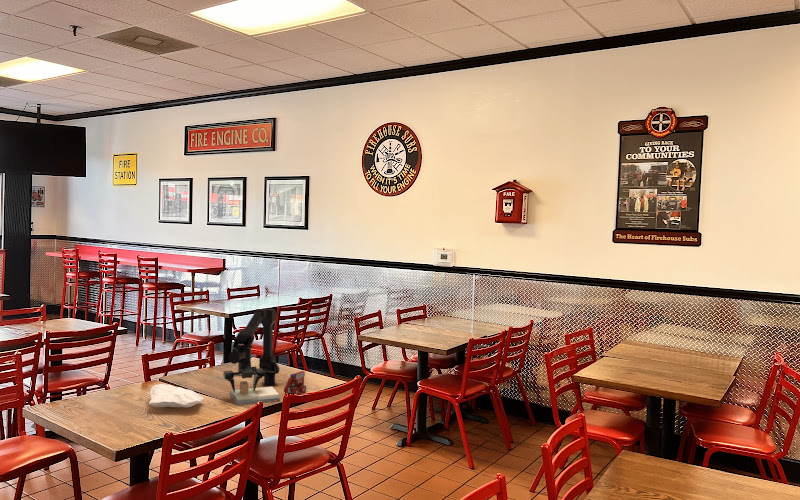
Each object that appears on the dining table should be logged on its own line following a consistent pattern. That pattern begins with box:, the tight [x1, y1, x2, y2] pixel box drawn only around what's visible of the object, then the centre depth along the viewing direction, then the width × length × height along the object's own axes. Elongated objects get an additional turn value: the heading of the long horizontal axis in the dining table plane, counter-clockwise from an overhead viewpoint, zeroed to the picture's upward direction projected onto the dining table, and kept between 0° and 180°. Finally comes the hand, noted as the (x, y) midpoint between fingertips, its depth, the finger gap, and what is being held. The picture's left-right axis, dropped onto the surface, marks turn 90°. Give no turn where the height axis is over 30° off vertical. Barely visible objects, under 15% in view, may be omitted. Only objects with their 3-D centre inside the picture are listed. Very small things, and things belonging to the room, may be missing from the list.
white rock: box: [148, 383, 205, 408], centre depth 280 cm, size 24×35×9 cm
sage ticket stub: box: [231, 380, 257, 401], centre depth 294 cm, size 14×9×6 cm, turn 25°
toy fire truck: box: [283, 370, 307, 395], centre depth 306 cm, size 7×12×10 cm, turn 148°
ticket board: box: [229, 386, 281, 406], centre depth 297 cm, size 18×20×3 cm
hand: (244, 391), depth 294 cm, fingers open, 9 cm apart
